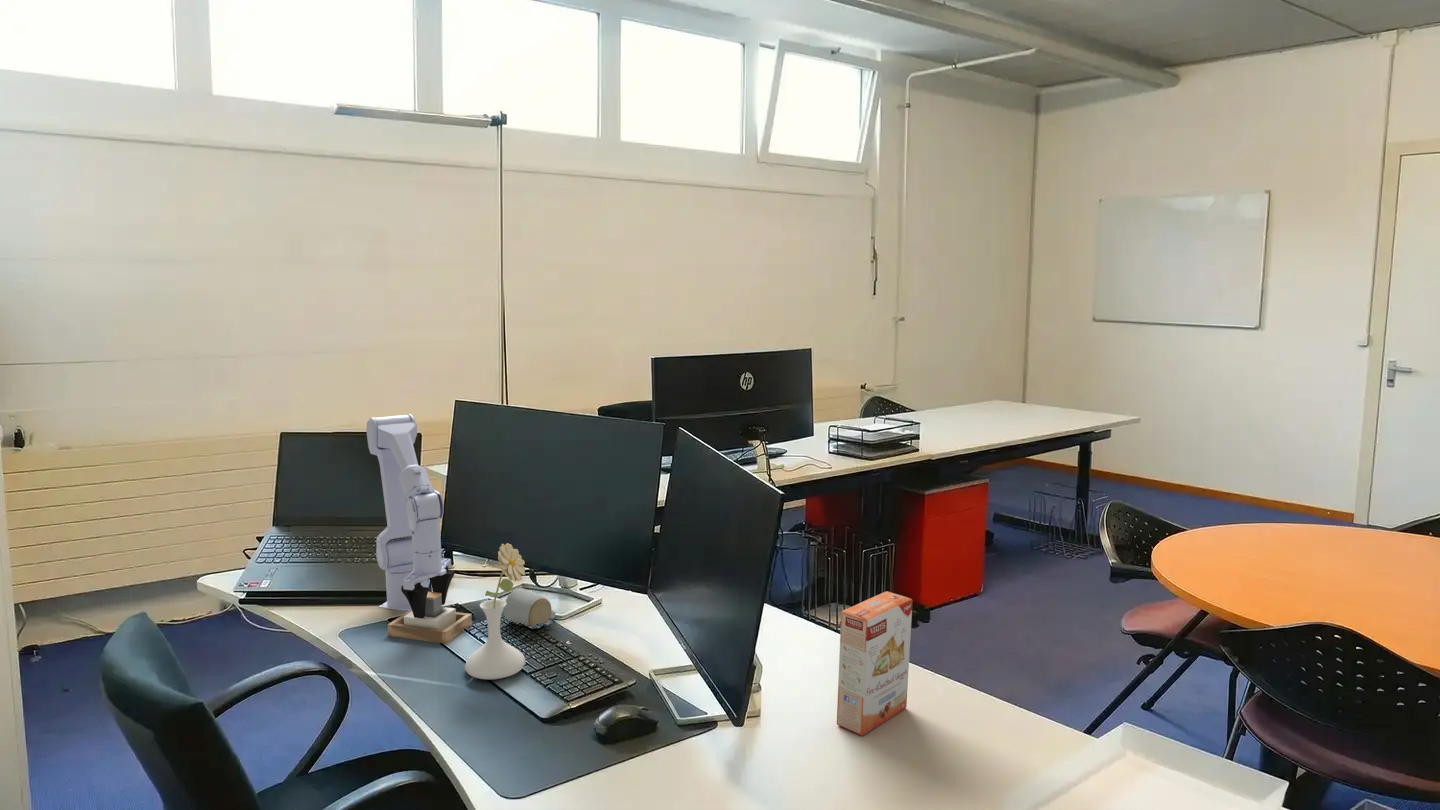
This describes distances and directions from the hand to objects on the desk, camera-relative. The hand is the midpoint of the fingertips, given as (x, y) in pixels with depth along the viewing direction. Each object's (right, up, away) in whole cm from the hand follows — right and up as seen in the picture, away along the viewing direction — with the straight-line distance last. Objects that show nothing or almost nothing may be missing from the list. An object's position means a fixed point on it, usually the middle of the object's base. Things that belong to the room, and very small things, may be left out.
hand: (429, 610), depth 191 cm
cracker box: (+89, -11, -34) cm, 96 cm away
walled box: (0, -5, +1) cm, 5 cm away
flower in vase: (+19, -8, -17) cm, 26 cm away
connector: (0, -3, +1) cm, 3 cm away
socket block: (0, -4, +1) cm, 4 cm away
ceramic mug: (+21, -4, +6) cm, 22 cm away
